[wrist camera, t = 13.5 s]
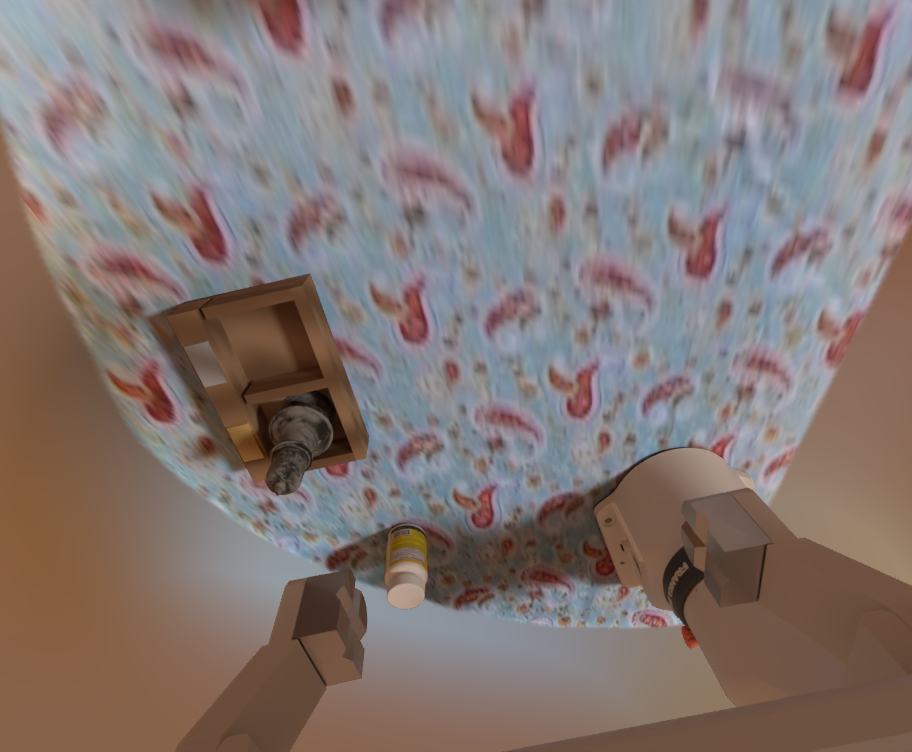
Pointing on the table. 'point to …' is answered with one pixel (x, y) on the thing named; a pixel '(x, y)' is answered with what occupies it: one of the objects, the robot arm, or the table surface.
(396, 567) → the supplement bottle
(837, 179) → the table surface
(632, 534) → the robot arm
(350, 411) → the divided sorting tray
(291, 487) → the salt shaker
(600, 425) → the table surface
